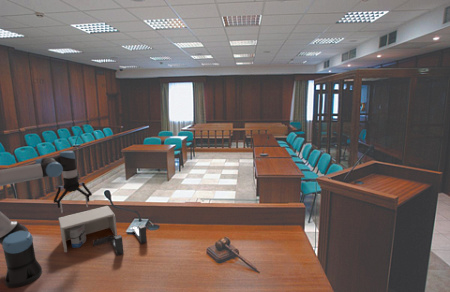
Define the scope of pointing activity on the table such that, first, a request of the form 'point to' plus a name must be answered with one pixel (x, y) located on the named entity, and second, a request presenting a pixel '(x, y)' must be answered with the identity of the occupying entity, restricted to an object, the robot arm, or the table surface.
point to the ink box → (77, 235)
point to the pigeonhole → (88, 222)
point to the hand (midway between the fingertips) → (74, 209)
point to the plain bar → (140, 233)
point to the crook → (115, 242)
